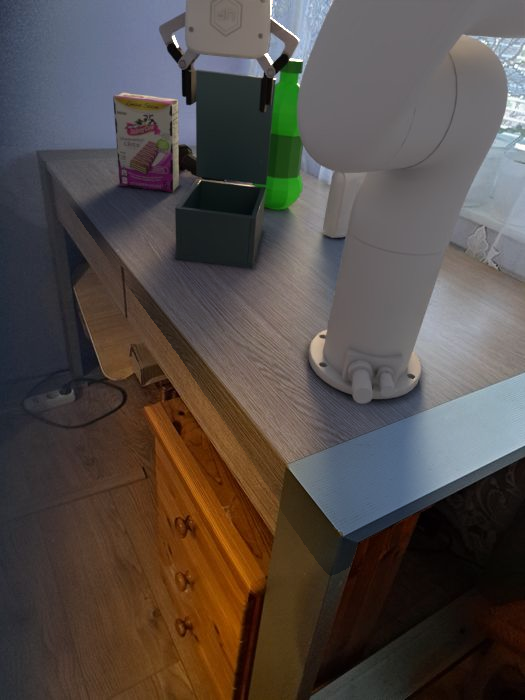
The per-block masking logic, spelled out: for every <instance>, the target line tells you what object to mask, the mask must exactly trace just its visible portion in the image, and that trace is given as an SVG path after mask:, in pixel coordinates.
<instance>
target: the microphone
mask: <svg viewBox="0 0 525 700" xmlns="http://www.w3.org/2000/svg"><path fill="white" fill-rule="evenodd" d="M178 147H179V172H180V171H187V172H190V174H191V175H192V176H194V177H197V176H196V156H195V155H194V154H193V149H192V148H190V147H189V146H188V145H187V144H186V143H182V144H178ZM200 179H203V180H211V181H219V182H226V180H220V179H212V178H204V177H200Z"/></svg>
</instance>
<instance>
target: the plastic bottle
mask: <svg viewBox="0 0 525 700" xmlns="http://www.w3.org/2000/svg"><path fill="white" fill-rule="evenodd" d="M303 68H304V60H303V59H297V58H292V57H291V58H290V60H289V62H288V63H287V64H286V65H285V66H284V67H283V68H282V69H281V70H280V71H279V80H278V82H276V83H275V94H274V106H273V117H272V129H271V140H270V151H269V163H268V174H267V184H266V185H262V184H254V183H251V185H253V186H261V187H266V195H265V205H264V208H267V209H270V210H279V211H282V210H286V209H288V208H289V207H290V206H292V205H293V204H295V203H296V202H297V201H298V199H299V197H300V196H301V193H302V191H303V187H304V182H303V179H302V176H301V173H300V172H301V166H302V158H303V150H304V146H303V143H302V141H301V138H300V135H299V131H298V124H297V102H298V94H299V88H300V84H299V75H301V74H303V70H304V69H303Z"/></svg>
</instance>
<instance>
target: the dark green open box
mask: <svg viewBox="0 0 525 700" xmlns="http://www.w3.org/2000/svg"><path fill="white" fill-rule="evenodd" d="M265 195H266V187H261V186H253V185H252V184H244V183H236V182H235V183H234V182H228V181H225V182H219V181H211V180H204V179H203V178H196V179H195V181H194V182H193V184H192V185H191V186H190V188H189V189H188V190H187V192H186V193H185V195H184V196H183V197H182V198H181V200H179V202H178V204H176V207H175V209H174V217H175V218H174V221H175V224H174V225H175V260H182V261H183V260H185V261H191V262H199V263H208V264H216V265H222V266H223V265H224V266H232V267H239V268H246V269H253V267H254V263H255V259H256V255H257V252H258V248H259V245H260V242H261V237H262V233H263V226H264V215H265V206H264V205H265Z"/></svg>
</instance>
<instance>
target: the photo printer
mask: <svg viewBox="0 0 525 700" xmlns="http://www.w3.org/2000/svg"><path fill="white" fill-rule="evenodd" d="M366 173H367V172H362V173H343V172H337V171H333V173H332V176H331V179H330V185H329V192H328V197H327V202H326V208H325V213H324V218H323V225H322V231H323V234H324V235H325V236H327V237H329V238H332V239H335V238H336V239H337V238H344V237H345V238H346V233H347V228H348V223H349V218H350V213H351V209H352V205H353V202H354V199H355V196H356V194H357V191H358V189H359V186H360V184H361V182H362V180H363V178H364V176H365V175H366Z"/></svg>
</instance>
